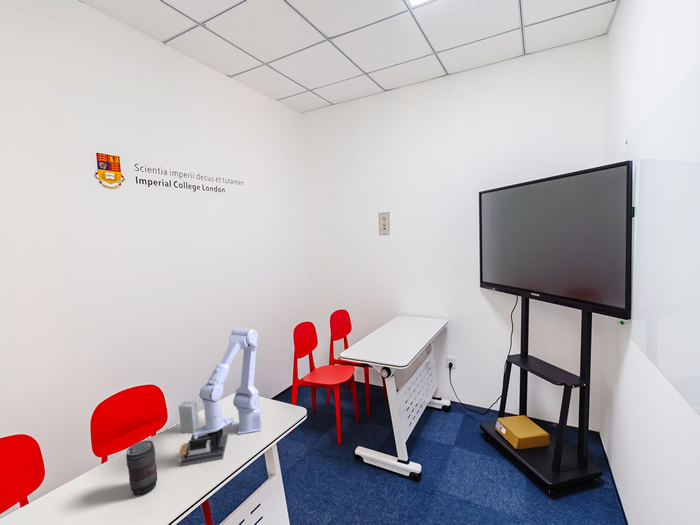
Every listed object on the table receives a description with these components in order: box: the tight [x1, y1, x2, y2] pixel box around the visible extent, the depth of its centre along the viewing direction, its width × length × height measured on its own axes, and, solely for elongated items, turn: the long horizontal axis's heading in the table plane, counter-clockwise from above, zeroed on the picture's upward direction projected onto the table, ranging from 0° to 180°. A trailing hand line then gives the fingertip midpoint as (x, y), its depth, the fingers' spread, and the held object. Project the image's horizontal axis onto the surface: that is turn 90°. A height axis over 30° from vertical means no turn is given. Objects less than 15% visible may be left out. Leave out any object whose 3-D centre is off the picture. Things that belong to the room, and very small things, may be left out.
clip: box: [187, 440, 212, 457], centre depth 126 cm, size 8×2×4 cm, turn 103°
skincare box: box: [178, 401, 200, 433], centre depth 144 cm, size 6×4×12 cm
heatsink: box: [178, 433, 229, 467], centre depth 130 cm, size 15×14×5 cm
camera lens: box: [125, 439, 158, 497], centre depth 111 cm, size 8×8×15 cm
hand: (216, 448), depth 127 cm, fingers closed
